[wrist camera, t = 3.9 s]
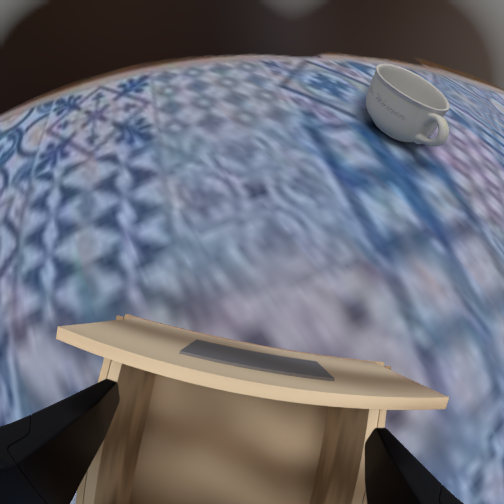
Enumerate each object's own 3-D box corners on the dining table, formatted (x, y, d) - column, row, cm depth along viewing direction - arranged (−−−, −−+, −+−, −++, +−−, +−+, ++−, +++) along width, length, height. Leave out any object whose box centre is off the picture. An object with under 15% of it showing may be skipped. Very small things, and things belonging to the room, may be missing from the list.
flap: (445, 408, 7) (450, 394, 7) (56, 338, 8) (57, 323, 8) (372, 369, 14) (374, 360, 14) (134, 325, 15) (136, 315, 15)
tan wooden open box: (309, 542, 15) (341, 587, 8) (117, 506, 15) (72, 539, 8) (343, 378, 22) (390, 362, 15) (152, 342, 22) (117, 311, 15)
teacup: (352, 99, 40) (366, 54, 33) (413, 113, 40) (431, 74, 33) (376, 164, 33) (400, 112, 26) (445, 177, 34) (474, 135, 27)
